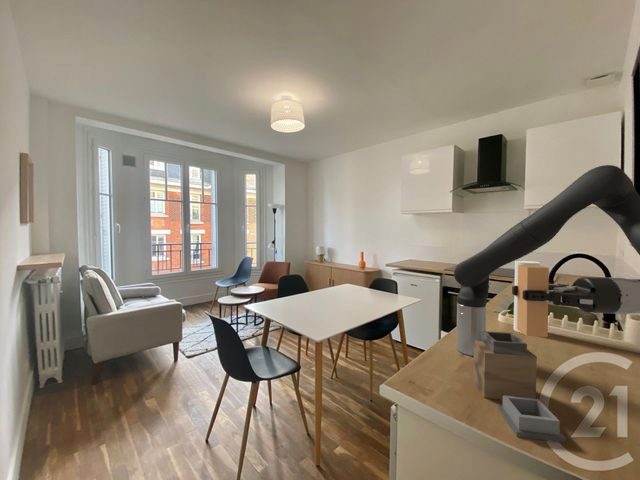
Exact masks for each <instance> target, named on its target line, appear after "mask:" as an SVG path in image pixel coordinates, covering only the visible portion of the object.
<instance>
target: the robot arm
mask: <svg viewBox="0 0 640 480" xmlns="http://www.w3.org/2000/svg"><path fill="white" fill-rule="evenodd" d="M591 205H595V206H596V207H597V208H599V209H600V210H601V211H603V213H605V214H606V215H608V216H609V217H610V218H611V219H612V220H613V221H614V222H615V223H616V224H617V225H618V226H619V228H620V229H621V230H622V232H623V233H624V235H625V237H626V239H627V240H628V242H629V243H630V245H631V246H632V247H633V249H634V250H635V251H636V253H637V254H638V255H639V256H640V195H639V192H638V190H636V188H635V186H634V183H633V180H632V179H631V178H630V177H629V176H628V175H627V173H626V172H625V171H624V170H623V169H622V168H620V166H619V167H618V166H616V165H612V164H605V165H599V166H596V167H594V168H591V169H589V170H587V171H586V172H585V173H583V174H582V175H581V176H579V177H578V178H577V179H576V180H574V181H572V183H571V184H570V185H568V186H567V187H566V188H565V189H564V190H562V191H561V192H560V193H559V194H558V195H556V196H554V198H553V199H551V200H550V201H549V202H547V203H546V204H544V205H542V207H540V208H537V210H535V211H534V212H533V213H532V214H529V216H527V217H525V218H524V219H522V220H520V221H519V222H518V223H516V224H515V225H513V226H512V227H510V228H508V229H507V231H505V232H504V233H502V234H501V235H500V236H499V237H497V238H496V239H495V240H494V241H493V242H491V243H490V244H489V245H488V246H487V247H485V248H484V249H483V250H481V251H479V252H477V253H476V254H474V255H472V256H471V257H468V258H467V259H464V260H463V261H461V262H459V263H458V264H457V265H456V266H455V269H454V271H453V273H454V274H453V277H454V279H455V281H456V283H458V284H459V285H460V289H459V291H458V293H457V296H456V341H455V342H456V350H457V351H458V352H460V353H461V354H464V355H467V356H471V357H474V341H482V340H483V331H487V329H486V328H487V300H488V297H489V287H490V286H489V285H490V275H491V274H492V273H493V272H495V271H496V270H498V269H499V268H501V267H504V266H505V265H507V264H510V263H512V262H515V261H518V260H519V259H522V258H523V257H526V256H528V255H529V254H531V253H533V252H535V251H536V250H538V249H539V248H541V247H543V246H544V245H546V244H547V243H549V242H550V241H552V239H553V238H555V236H556V235H557V234H558V233H559V232H560V231H561V230H562V228H563V227H564V225H566V223H567V222H568V221H569V220H571V218H573V216H575V215H576V214H578V213H579V212H581V211H582V210H583V211H584V210H585V209H586V208H588V207H589V206H591ZM511 294H512V295H513V296H514V295H515V296H518V286H515V285H513V286H512V288H511ZM522 298H523V299H524V300H526V301H544V302H546V303H548V304H551V303H552V305H555V306H561V307H562V306H563V307H575V308H578V309H579V310H581V311H582V312H584V313H589V314H616V315H618V314H619V315H629V314H630V315H631V314H640V278H639V279H638V278H624V277H605V276H604V277H599V276H597V277H594V276H593V277H591V276H582V277H579V278H577V279H576V280H575V281H574V282H573V283H572V285H570V283H569V284H568V283H557V284H555V283H552V282H548V290H545V291H542V290H523V297H522Z"/></svg>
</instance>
